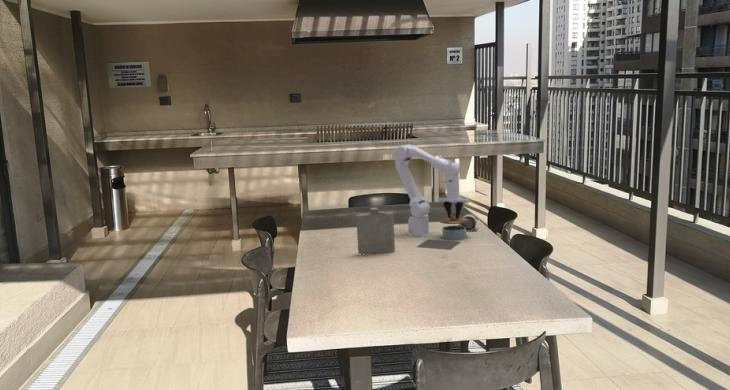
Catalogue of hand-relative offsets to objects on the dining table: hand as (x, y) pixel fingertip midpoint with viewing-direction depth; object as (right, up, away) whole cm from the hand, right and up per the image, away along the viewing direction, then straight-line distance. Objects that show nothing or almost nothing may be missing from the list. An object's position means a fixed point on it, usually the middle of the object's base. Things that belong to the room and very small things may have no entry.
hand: (453, 218), depth 277 cm
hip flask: (-36, -15, -18) cm, 43 cm away
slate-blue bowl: (+1, -9, +2) cm, 9 cm away
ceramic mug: (+8, -7, +16) cm, 19 cm away
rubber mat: (-8, -12, -10) cm, 18 cm away
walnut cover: (0, -2, 0) cm, 2 cm away
